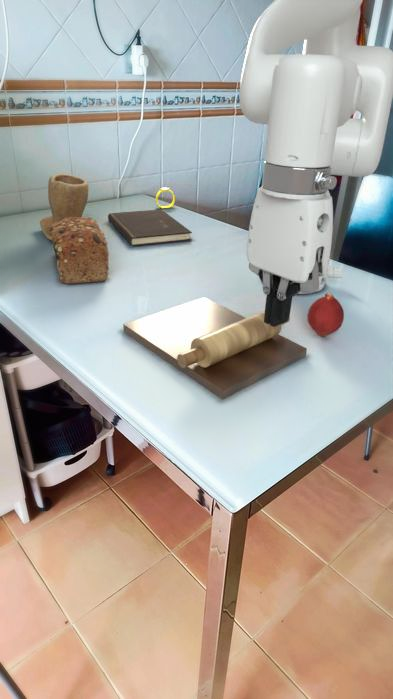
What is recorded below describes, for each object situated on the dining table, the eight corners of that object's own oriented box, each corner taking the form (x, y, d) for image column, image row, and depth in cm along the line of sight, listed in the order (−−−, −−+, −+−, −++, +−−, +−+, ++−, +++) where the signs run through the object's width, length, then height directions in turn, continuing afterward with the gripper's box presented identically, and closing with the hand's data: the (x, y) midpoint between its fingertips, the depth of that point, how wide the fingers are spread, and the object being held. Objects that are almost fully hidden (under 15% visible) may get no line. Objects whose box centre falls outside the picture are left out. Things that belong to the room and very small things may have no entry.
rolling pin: (273, 323, 81) (276, 300, 78) (293, 333, 78) (297, 309, 75) (171, 367, 68) (171, 340, 66) (191, 381, 65) (192, 354, 63)
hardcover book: (161, 217, 140) (161, 209, 139) (191, 240, 122) (191, 231, 121) (108, 221, 135) (107, 213, 134) (131, 246, 117) (130, 237, 116)
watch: (173, 206, 152) (173, 186, 149) (175, 208, 149) (176, 188, 146) (155, 207, 150) (154, 187, 147) (157, 209, 148) (157, 189, 145)
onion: (314, 324, 84) (322, 282, 80) (345, 335, 81) (354, 292, 77) (298, 336, 80) (305, 292, 76) (329, 348, 77) (339, 303, 73)
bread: (110, 282, 97) (107, 234, 92) (57, 287, 95) (50, 237, 89) (99, 252, 113) (96, 209, 108) (52, 255, 110) (47, 211, 105)
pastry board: (203, 304, 90) (204, 296, 89) (305, 356, 75) (307, 348, 74) (123, 332, 80) (123, 324, 79) (222, 399, 64) (223, 390, 64)
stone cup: (96, 243, 118) (91, 180, 111) (47, 247, 114) (38, 182, 107) (85, 225, 130) (80, 168, 123) (40, 229, 126) (31, 170, 119)
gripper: (370, 188, 52) (339, 335, 62) (268, 167, 62) (254, 297, 71) (329, 195, 48) (302, 353, 57) (226, 172, 58) (217, 310, 67)
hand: (275, 322), depth 64 cm, fingers closed
